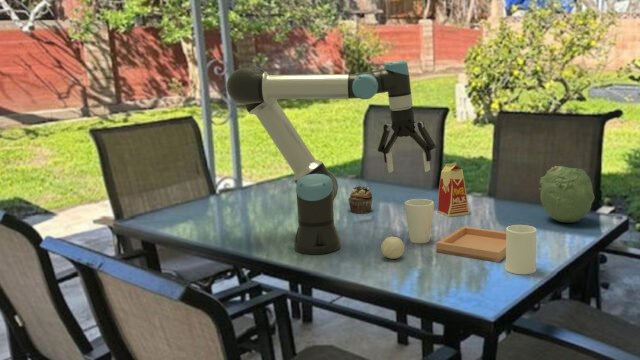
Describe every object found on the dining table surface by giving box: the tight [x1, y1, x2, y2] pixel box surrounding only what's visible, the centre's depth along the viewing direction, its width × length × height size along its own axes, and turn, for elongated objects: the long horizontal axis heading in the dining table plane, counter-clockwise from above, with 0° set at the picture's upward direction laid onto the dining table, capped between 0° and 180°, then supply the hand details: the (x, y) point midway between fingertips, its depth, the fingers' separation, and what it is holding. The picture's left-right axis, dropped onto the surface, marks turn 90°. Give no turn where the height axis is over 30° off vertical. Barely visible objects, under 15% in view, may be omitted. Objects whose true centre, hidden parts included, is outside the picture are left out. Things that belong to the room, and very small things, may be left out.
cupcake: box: [347, 185, 374, 214], centre depth 247 cm, size 10×10×10 cm
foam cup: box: [404, 198, 435, 244], centre depth 207 cm, size 10×9×13 cm
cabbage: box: [538, 165, 595, 224], centre depth 218 cm, size 16×19×20 cm
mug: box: [504, 224, 537, 275], centre depth 178 cm, size 12×8×12 cm
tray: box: [436, 226, 506, 263], centre depth 198 cm, size 20×20×3 cm
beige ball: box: [380, 236, 405, 260], centre depth 192 cm, size 7×7×7 cm
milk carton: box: [437, 162, 470, 218], centre depth 237 cm, size 9×9×20 cm
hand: (408, 171), depth 211 cm, fingers open, 13 cm apart
